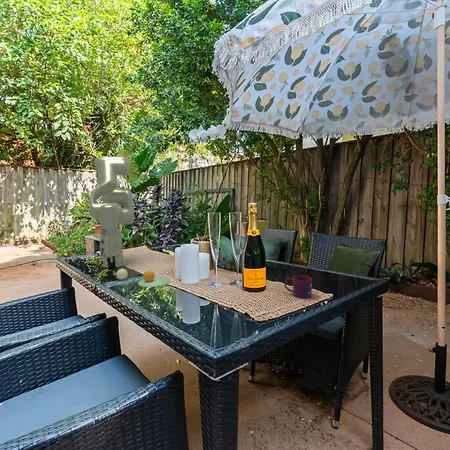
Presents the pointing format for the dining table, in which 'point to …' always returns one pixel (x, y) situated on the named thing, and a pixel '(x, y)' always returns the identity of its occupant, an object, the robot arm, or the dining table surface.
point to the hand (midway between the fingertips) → (112, 269)
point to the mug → (301, 286)
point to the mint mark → (154, 282)
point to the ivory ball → (121, 274)
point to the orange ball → (148, 276)
